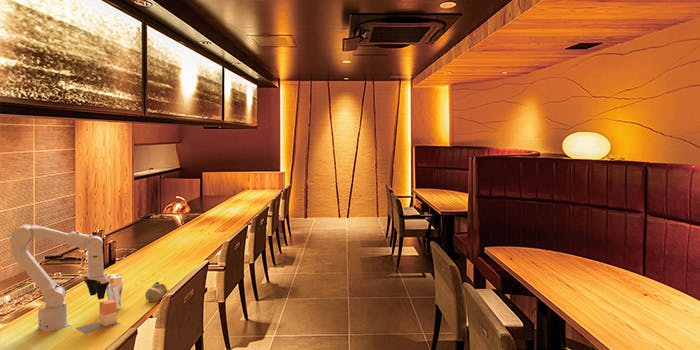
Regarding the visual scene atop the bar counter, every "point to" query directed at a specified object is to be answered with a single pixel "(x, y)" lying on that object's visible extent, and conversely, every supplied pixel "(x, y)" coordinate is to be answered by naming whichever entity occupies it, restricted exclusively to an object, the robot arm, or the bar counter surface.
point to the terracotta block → (107, 307)
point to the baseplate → (94, 327)
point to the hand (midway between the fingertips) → (97, 296)
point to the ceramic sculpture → (156, 292)
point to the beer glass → (115, 288)
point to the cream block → (108, 319)
